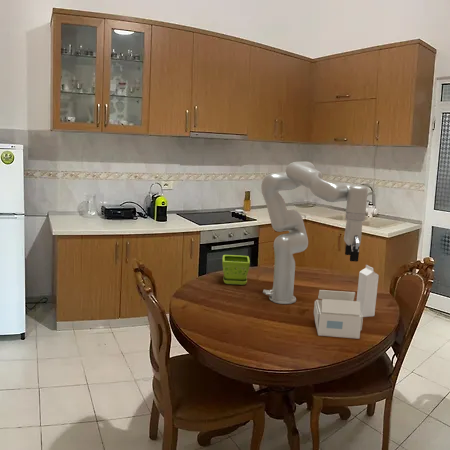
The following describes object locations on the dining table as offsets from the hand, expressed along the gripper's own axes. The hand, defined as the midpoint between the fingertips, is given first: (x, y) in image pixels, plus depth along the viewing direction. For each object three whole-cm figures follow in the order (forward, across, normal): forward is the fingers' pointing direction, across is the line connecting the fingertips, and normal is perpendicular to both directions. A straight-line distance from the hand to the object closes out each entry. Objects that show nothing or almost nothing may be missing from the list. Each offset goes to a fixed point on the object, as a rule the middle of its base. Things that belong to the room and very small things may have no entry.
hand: (351, 257), depth 199 cm
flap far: (+17, -1, -4) cm, 18 cm away
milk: (+29, -14, +11) cm, 34 cm away
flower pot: (+29, -49, -48) cm, 74 cm away
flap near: (+17, +11, -5) cm, 21 cm away
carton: (+29, +5, -5) cm, 30 cm away
